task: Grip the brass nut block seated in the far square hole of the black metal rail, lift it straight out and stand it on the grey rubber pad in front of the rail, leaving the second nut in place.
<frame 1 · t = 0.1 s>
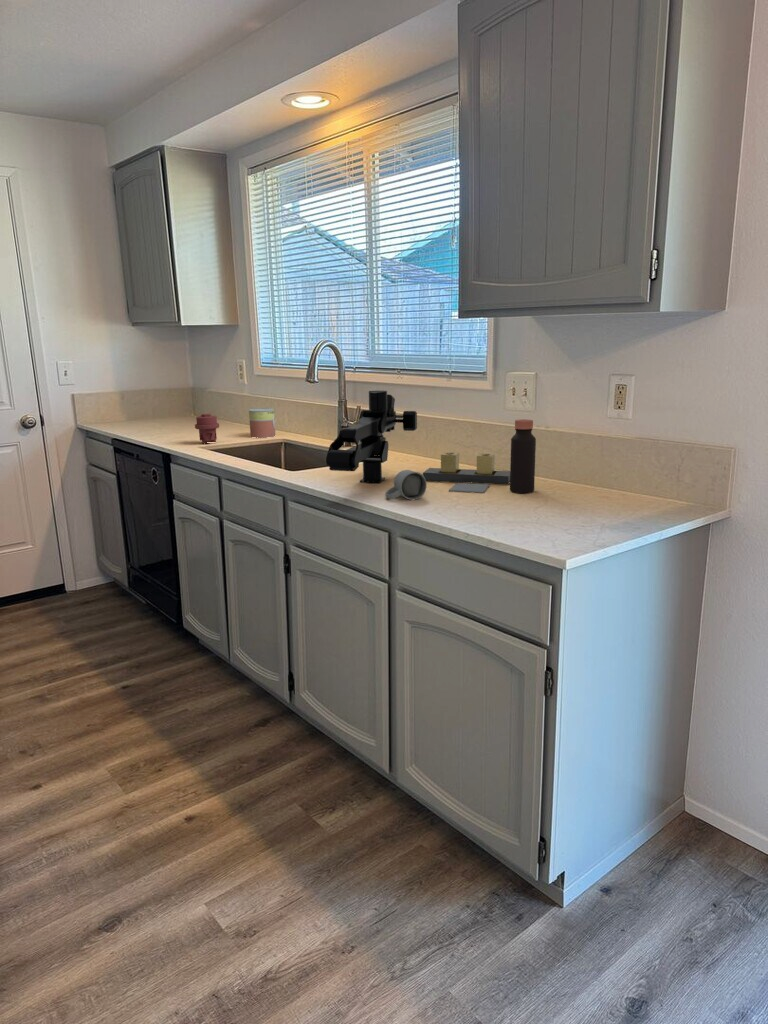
hand: (395, 417, 237), 17 cm above the worktop, tool horizontal, fingers open, 9 cm apart
brass nut b: (449, 479, 218), resting in rack rail
canned food: (263, 436, 318), on the worktop
brass nut a: (485, 480, 215), resting in rack rail
mechanical component: (208, 443, 301), on the worktop
rack rail: (467, 479, 217), on the worktop
grey pad: (469, 488, 205), on the worktop
bottle: (521, 491, 200), on the worktop
ceramic mug: (405, 498, 196), on the worktop
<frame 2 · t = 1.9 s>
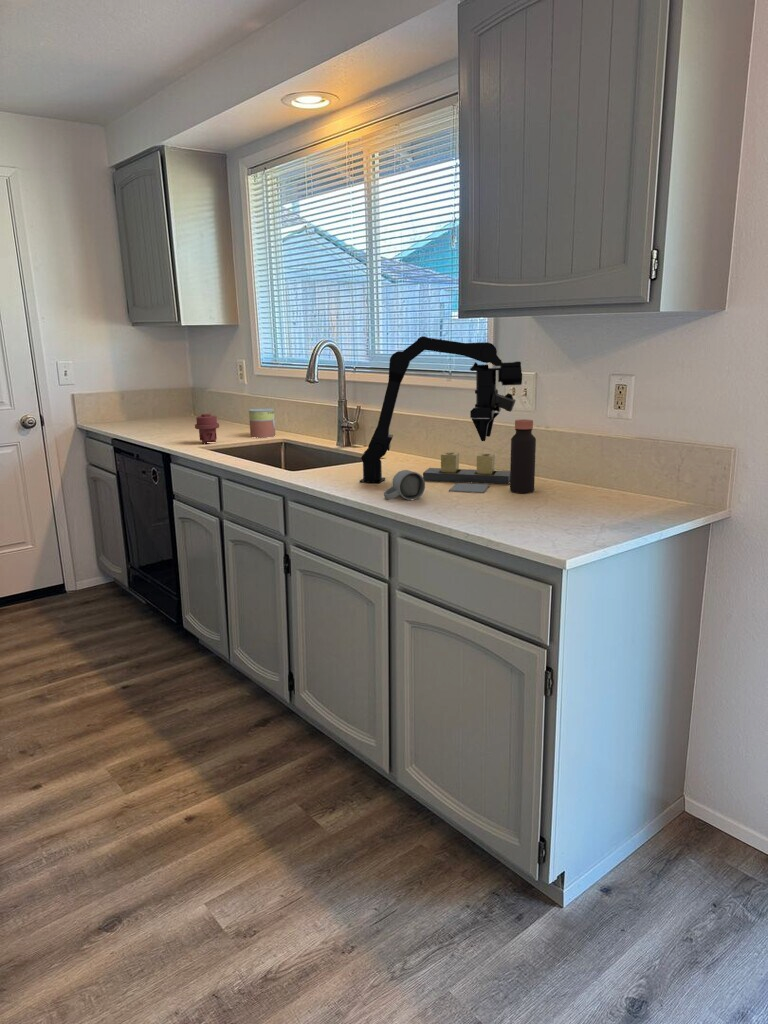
hand: (485, 438, 212), 13 cm above the worktop, tool pointing down, fingers open, 9 cm apart
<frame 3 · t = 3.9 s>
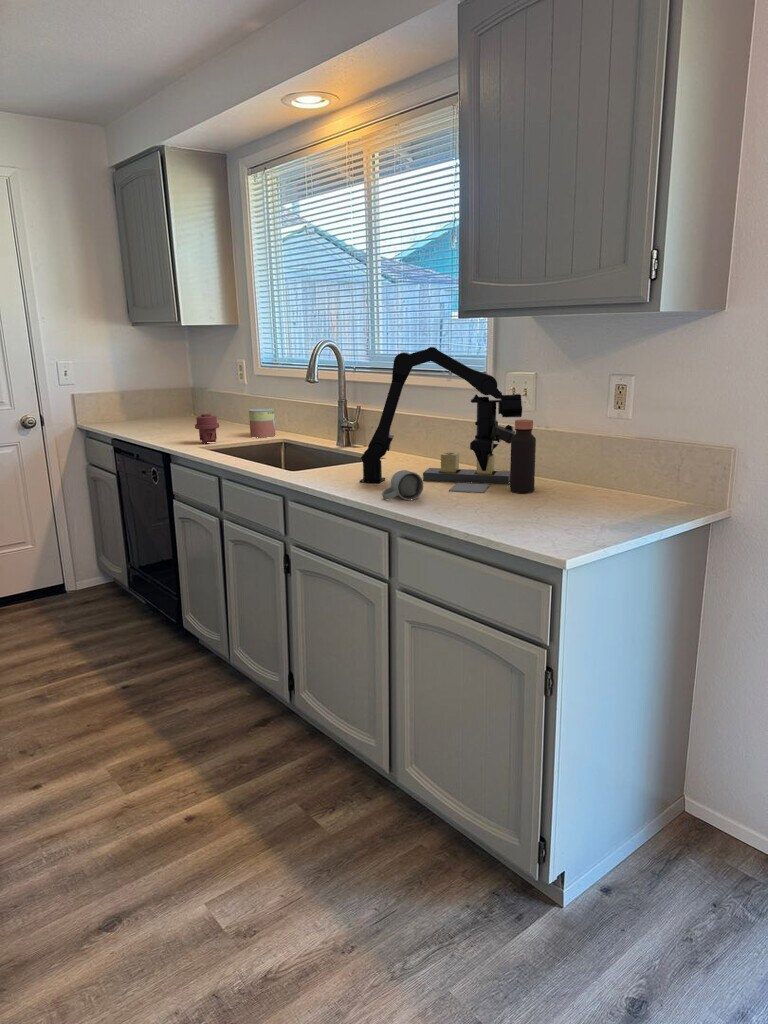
hand: (485, 469, 214), 4 cm above the worktop, tool pointing down, fingers closed on brass nut a, 5 cm apart
brass nut a: (485, 480, 215), resting in rack rail, touching gripper
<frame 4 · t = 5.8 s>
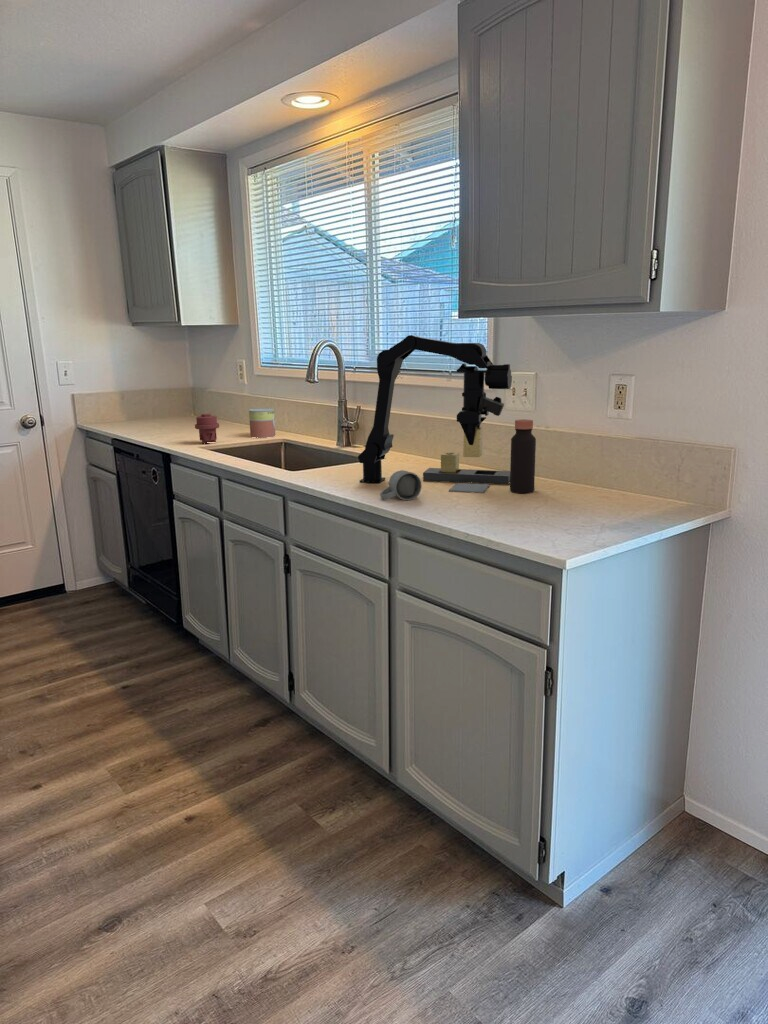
hand: (472, 443, 203), 13 cm above the worktop, tool pointing down, fingers closed on brass nut a, 5 cm apart
brass nut a: (472, 455, 204), point 9 cm above the worktop, touching gripper
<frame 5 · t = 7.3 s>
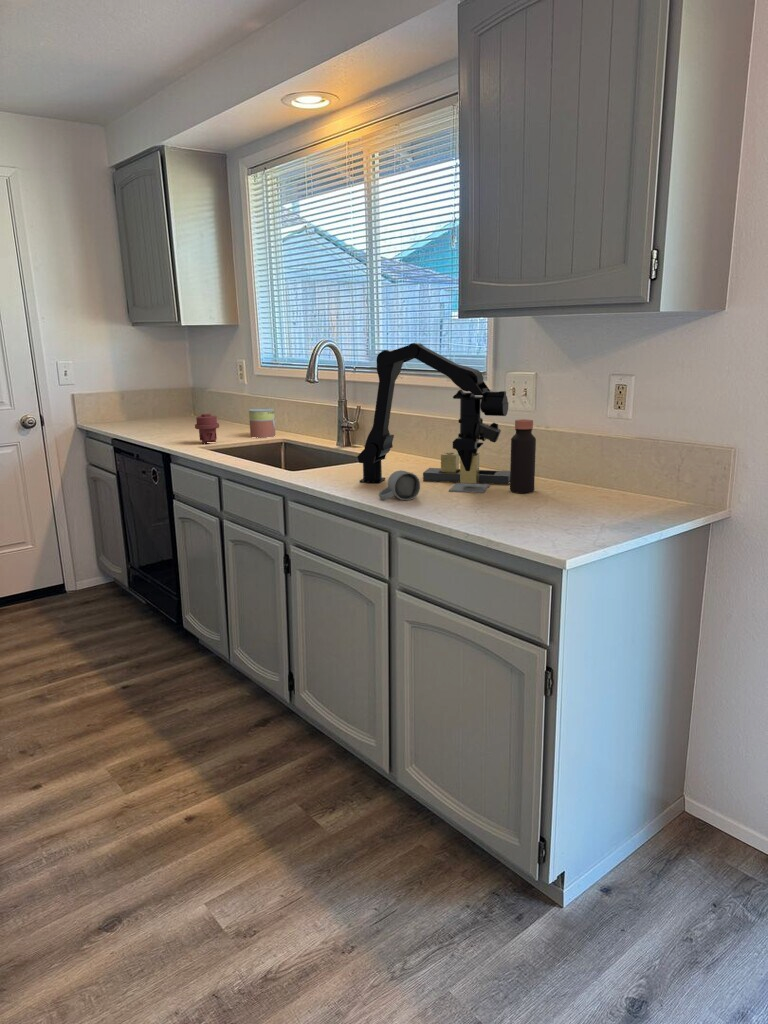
hand: (469, 469, 203), 6 cm above the worktop, tool pointing down, fingers closed on brass nut a, 5 cm apart
brass nut a: (469, 481, 204), point 2 cm above the worktop, touching gripper
when the fingers open (5 cm above the worktop, at t = 8.2 s): brass nut a drops 1 cm, resting on grey pad.
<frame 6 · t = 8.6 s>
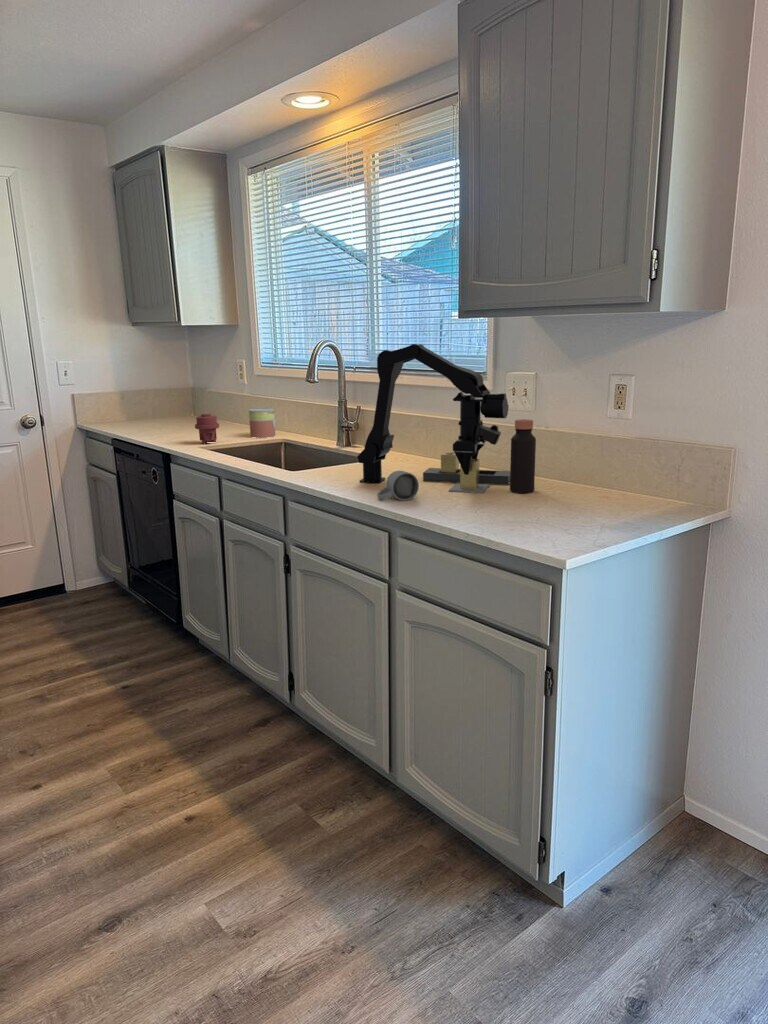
hand: (469, 471, 204), 5 cm above the worktop, tool pointing down, fingers open, 9 cm apart
brass nut a: (469, 487, 205), resting on grey pad
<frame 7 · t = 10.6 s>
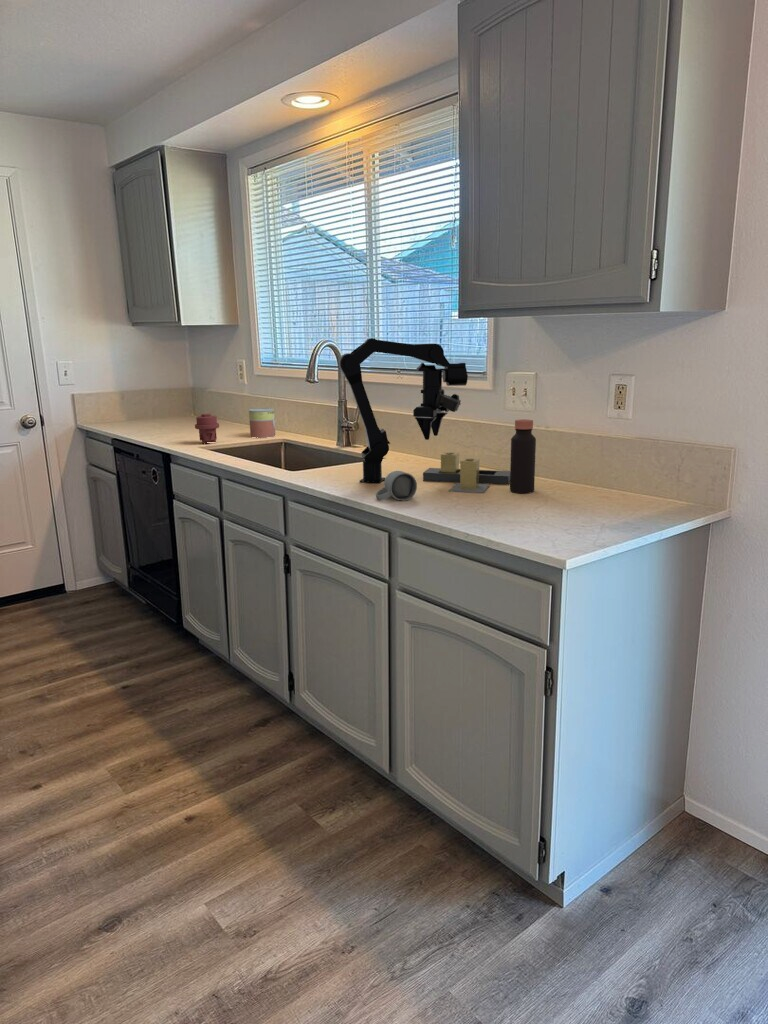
hand: (431, 437, 217), 13 cm above the worktop, tool pointing down, fingers open, 9 cm apart
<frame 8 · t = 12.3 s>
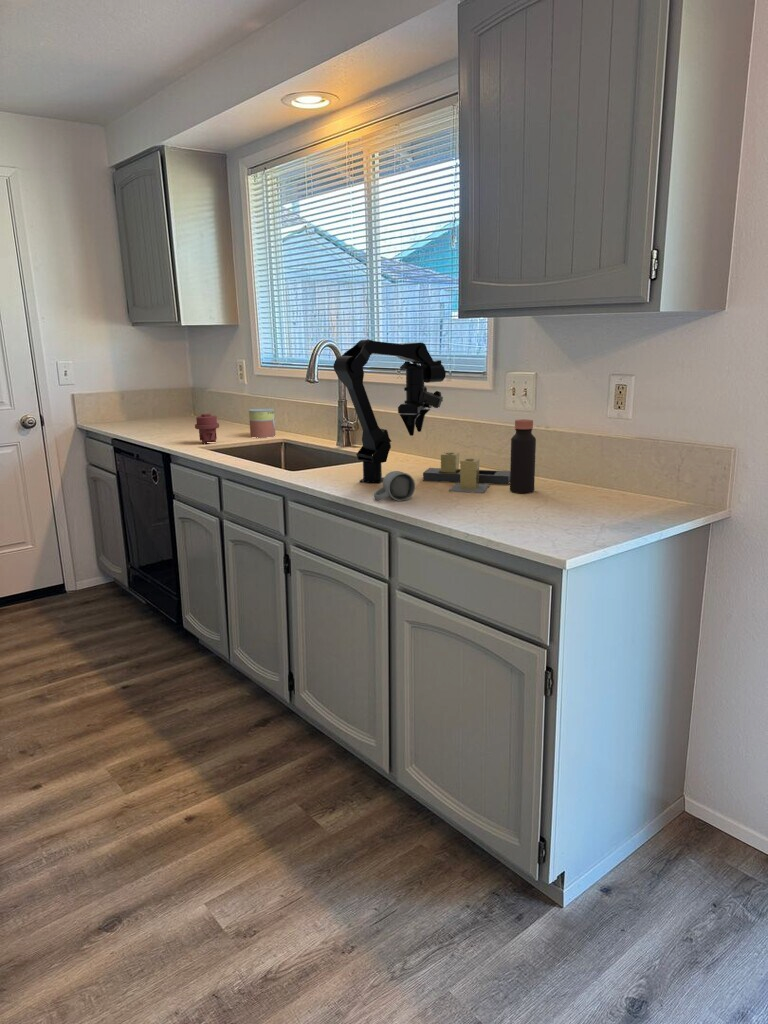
hand: (415, 433, 224), 13 cm above the worktop, tool pointing down, fingers open, 9 cm apart
at the end: brass nut a inside the target area on the grey pad (0.0 cm from its centre), point 0.4 cm above the grey pad's base; brass nut a tilted 0°; the gripper is holding nothing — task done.
